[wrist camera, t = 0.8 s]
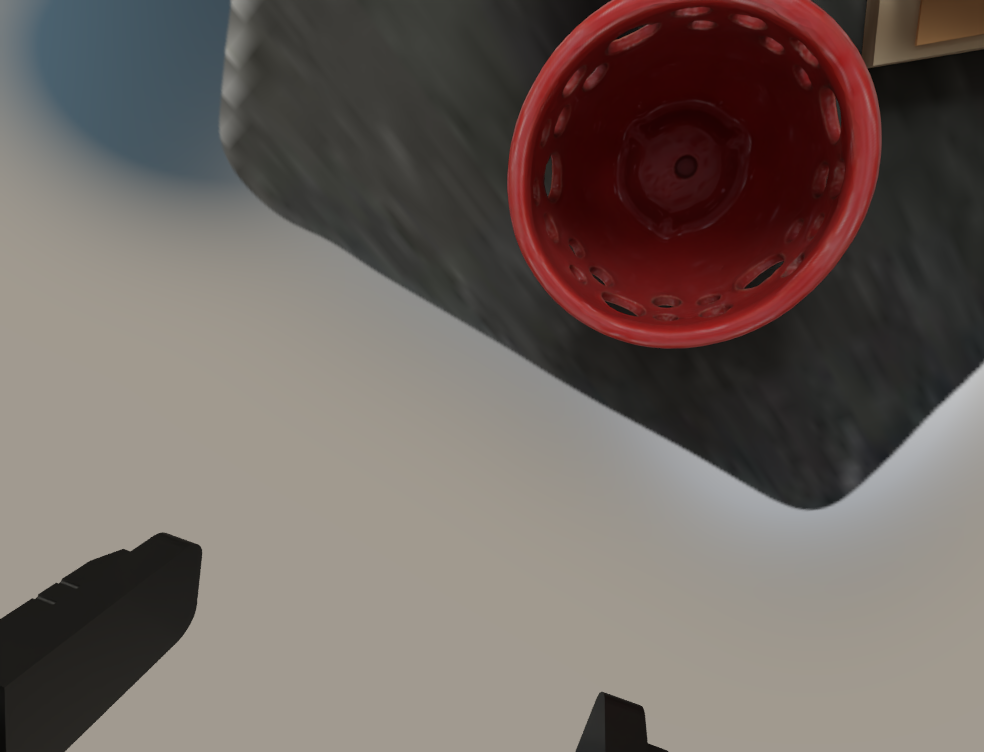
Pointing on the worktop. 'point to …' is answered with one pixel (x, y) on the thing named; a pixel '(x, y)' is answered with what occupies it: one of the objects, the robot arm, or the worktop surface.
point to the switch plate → (920, 30)
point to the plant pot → (693, 165)
